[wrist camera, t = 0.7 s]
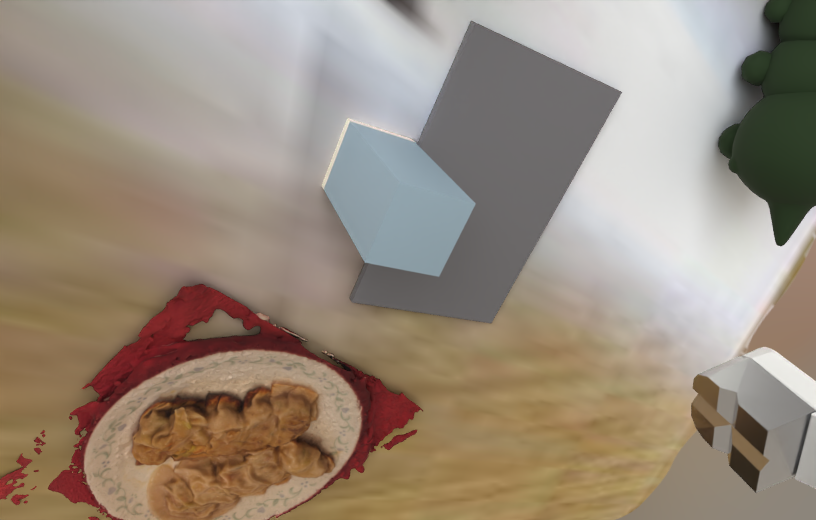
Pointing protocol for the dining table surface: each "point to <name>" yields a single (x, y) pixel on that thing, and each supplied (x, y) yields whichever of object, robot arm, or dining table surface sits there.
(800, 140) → the toy figurine
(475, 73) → the charcoal mat
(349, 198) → the slate block
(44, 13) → the dining table surface
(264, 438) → the plate with food
